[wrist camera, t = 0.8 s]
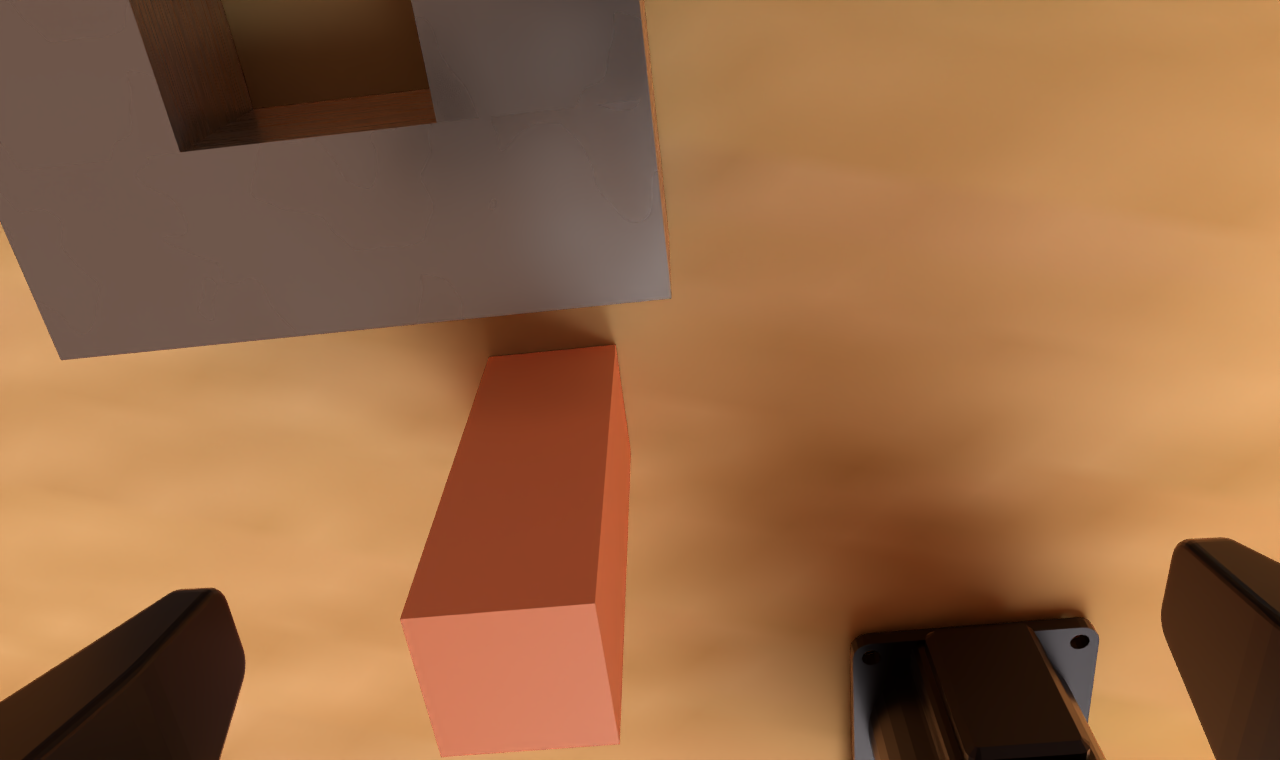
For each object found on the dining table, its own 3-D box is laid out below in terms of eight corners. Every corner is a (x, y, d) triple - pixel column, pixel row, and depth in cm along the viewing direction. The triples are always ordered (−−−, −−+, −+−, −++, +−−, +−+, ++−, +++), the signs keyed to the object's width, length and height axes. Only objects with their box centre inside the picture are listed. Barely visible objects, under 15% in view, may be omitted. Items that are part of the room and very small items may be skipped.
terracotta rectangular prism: (630, 453, 24) (619, 744, 16) (511, 464, 24) (441, 756, 16) (615, 344, 22) (594, 603, 15) (488, 357, 23) (399, 619, 15)
